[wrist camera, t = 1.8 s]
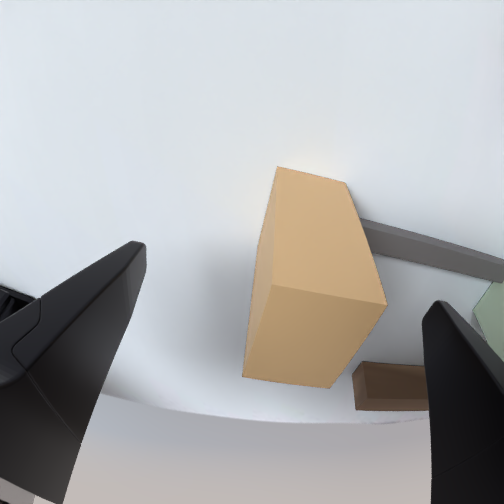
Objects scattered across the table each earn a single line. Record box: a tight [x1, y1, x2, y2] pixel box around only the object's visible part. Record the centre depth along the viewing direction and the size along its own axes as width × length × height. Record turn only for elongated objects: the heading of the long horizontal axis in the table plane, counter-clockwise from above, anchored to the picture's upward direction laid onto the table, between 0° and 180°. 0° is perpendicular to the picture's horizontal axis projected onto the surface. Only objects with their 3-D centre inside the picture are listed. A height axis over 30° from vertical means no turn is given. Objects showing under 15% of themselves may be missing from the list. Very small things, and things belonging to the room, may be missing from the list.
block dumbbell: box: [242, 167, 504, 388], centre depth 10 cm, size 6×18×6 cm, turn 79°
